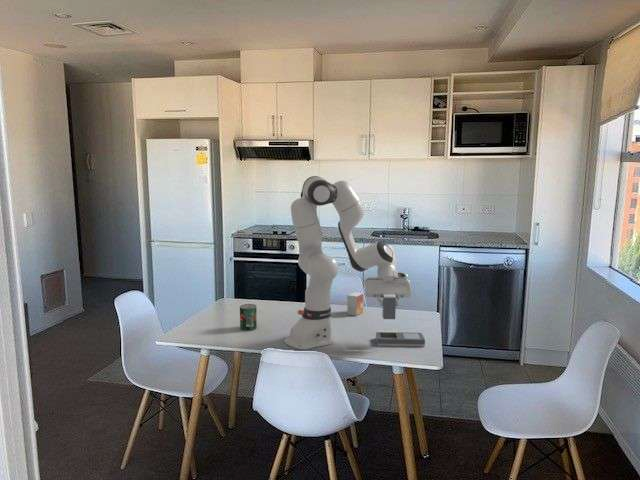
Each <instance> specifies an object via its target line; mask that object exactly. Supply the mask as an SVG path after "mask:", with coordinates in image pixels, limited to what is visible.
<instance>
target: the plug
mask: <svg viewBox="0 0 640 480" xmlns="http://www.w3.org/2000/svg"><path fill="white" fill-rule="evenodd" d="M382 301H383V303H384V305H383V306H382V312H381V313H382V315H381V316H382V319H383V320H396V310H397V308H396V307H397V306H396V301H397V298H396V296H395V294H383V298H382Z"/></svg>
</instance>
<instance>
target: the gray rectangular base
mask: <svg viewBox="0 0 640 480" xmlns="http://www.w3.org/2000/svg"><path fill="white" fill-rule="evenodd" d="M375 340H376V345H377V346H378V347H379V346H380V347H426V346H425V344H426V339H425V337H424V335H423V333H422V332H404V331H402V332H400V331H399V332H377V331H376V333H375Z"/></svg>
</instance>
